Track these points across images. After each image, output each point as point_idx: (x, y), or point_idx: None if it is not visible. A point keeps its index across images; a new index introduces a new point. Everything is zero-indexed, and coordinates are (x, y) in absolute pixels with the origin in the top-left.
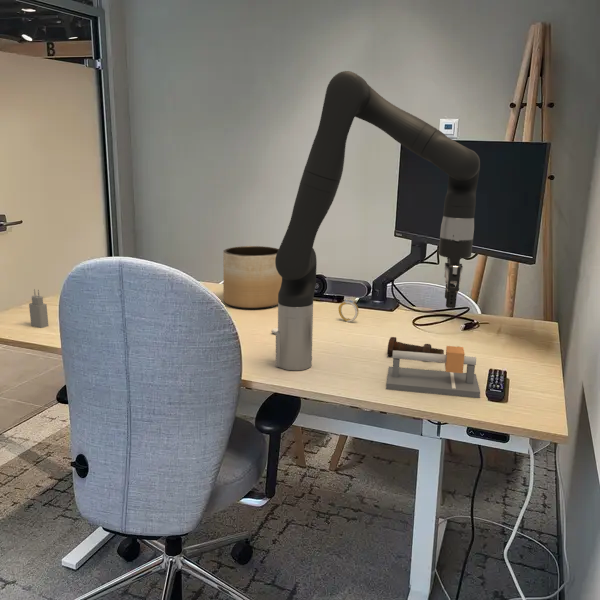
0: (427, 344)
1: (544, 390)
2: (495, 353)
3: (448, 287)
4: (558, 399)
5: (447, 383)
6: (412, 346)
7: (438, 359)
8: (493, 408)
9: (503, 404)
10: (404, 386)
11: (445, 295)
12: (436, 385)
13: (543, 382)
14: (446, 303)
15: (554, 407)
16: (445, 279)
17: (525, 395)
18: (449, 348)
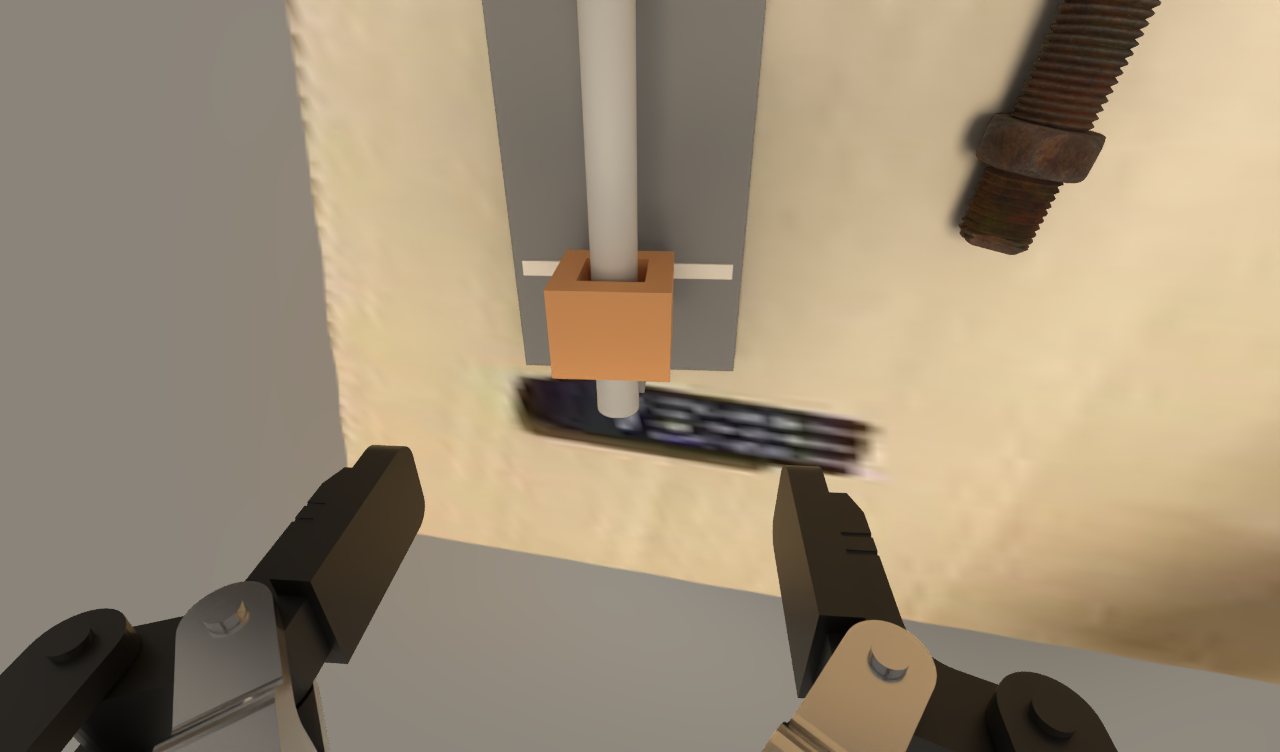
0: (1080, 157)
1: (669, 547)
2: (1077, 472)
3: (17, 671)
4: (604, 564)
5: (580, 242)
6: (1093, 43)
7: (588, 225)
8: (455, 385)
9: (504, 419)
10: (484, 9)
11: (791, 488)
12: (537, 189)
13: (743, 558)
14: (352, 469)
15: (536, 543)
16: (235, 747)
17: (608, 492)
18: (621, 306)
